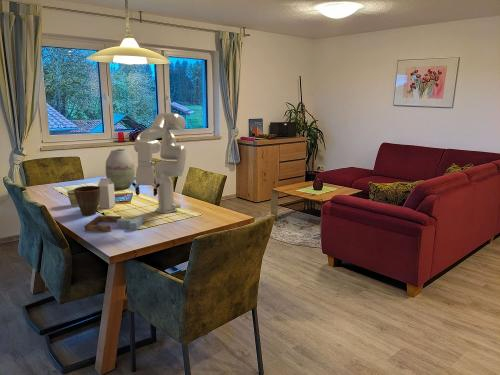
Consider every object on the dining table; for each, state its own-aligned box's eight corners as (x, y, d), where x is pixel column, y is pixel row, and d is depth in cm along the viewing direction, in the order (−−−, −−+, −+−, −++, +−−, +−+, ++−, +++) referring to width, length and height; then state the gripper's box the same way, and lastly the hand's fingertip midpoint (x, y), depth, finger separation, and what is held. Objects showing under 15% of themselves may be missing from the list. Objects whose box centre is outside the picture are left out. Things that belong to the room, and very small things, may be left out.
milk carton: (109, 208, 252) (107, 179, 248) (99, 208, 254) (97, 179, 249) (115, 205, 259) (113, 177, 255) (105, 205, 260) (103, 177, 256)
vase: (109, 185, 318) (106, 148, 311) (136, 184, 321) (134, 147, 315) (104, 191, 297) (101, 152, 290) (134, 190, 301) (131, 151, 294)
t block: (143, 223, 224) (142, 216, 223) (136, 230, 212) (136, 223, 212) (122, 222, 225) (122, 216, 224) (114, 229, 213) (114, 222, 212)
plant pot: (107, 213, 241) (105, 188, 238) (83, 219, 231) (80, 192, 227) (95, 209, 251) (93, 184, 248) (71, 214, 240) (69, 188, 237)
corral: (121, 221, 227) (121, 216, 227) (109, 231, 210) (109, 226, 209) (98, 220, 228) (98, 215, 227) (84, 231, 210) (84, 225, 210)
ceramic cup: (71, 208, 252) (69, 193, 250) (66, 205, 260) (65, 190, 257) (91, 205, 260) (90, 190, 258) (87, 202, 268) (85, 187, 265)
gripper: (163, 163, 215) (164, 194, 218) (132, 162, 216) (133, 193, 219) (158, 165, 207) (160, 197, 211) (126, 164, 209) (128, 196, 212)
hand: (146, 195), depth 215 cm, fingers open, 9 cm apart
